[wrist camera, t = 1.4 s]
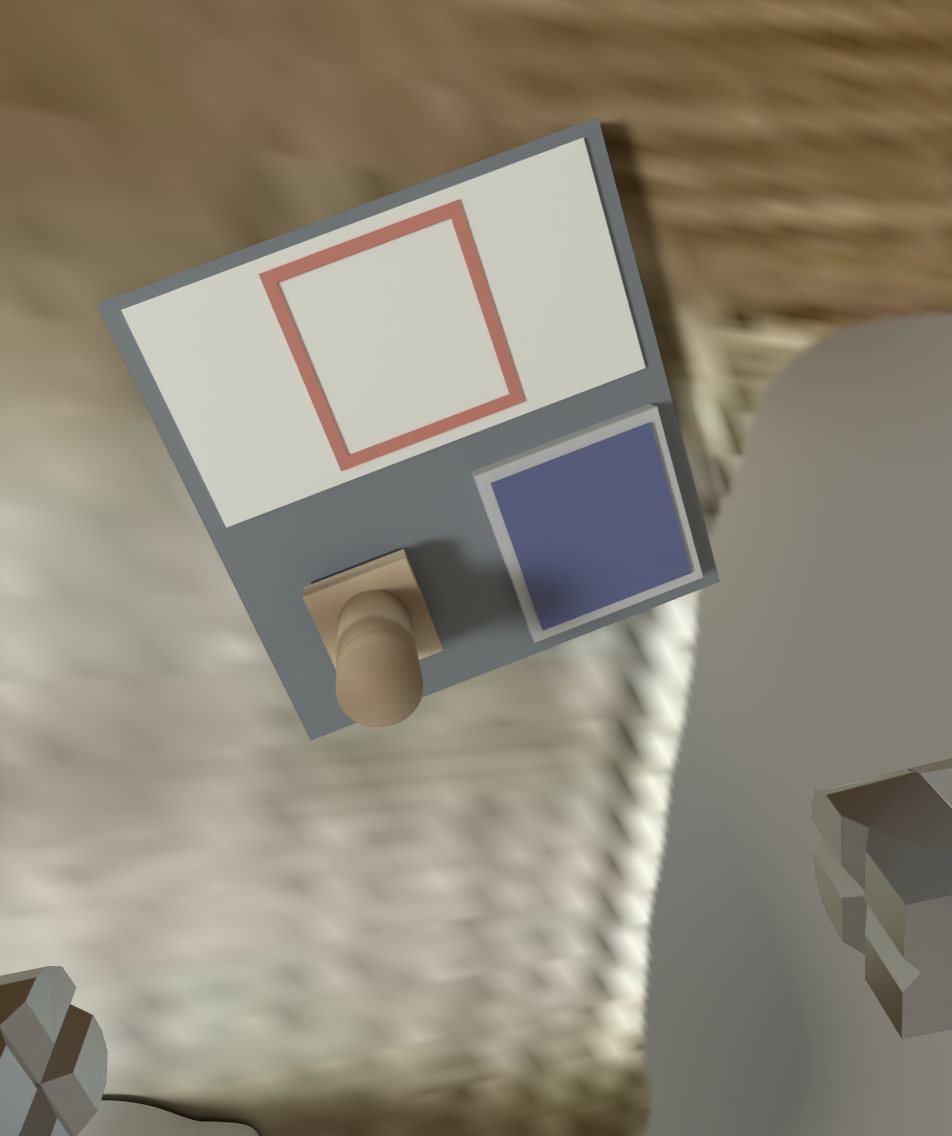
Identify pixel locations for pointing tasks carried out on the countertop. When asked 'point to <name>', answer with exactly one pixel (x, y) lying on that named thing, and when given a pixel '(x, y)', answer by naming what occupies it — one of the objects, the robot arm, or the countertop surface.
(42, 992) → the robot arm
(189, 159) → the countertop surface
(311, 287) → the stamping board
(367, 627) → the stamp
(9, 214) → the countertop surface
